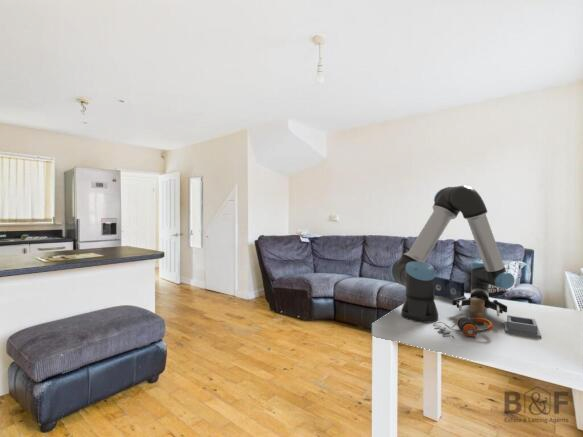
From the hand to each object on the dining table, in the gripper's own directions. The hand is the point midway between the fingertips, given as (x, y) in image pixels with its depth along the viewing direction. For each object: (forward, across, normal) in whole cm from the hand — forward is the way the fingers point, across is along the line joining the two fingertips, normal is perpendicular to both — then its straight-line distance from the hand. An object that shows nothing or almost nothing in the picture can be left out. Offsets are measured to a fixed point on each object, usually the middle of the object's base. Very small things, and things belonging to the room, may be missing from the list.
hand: (478, 310), depth 133 cm
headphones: (+13, +5, -6) cm, 15 cm away
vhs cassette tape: (-38, +15, -6) cm, 42 cm away
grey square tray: (-1, -14, -6) cm, 16 cm away
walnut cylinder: (-1, 0, -6) cm, 6 cm away
